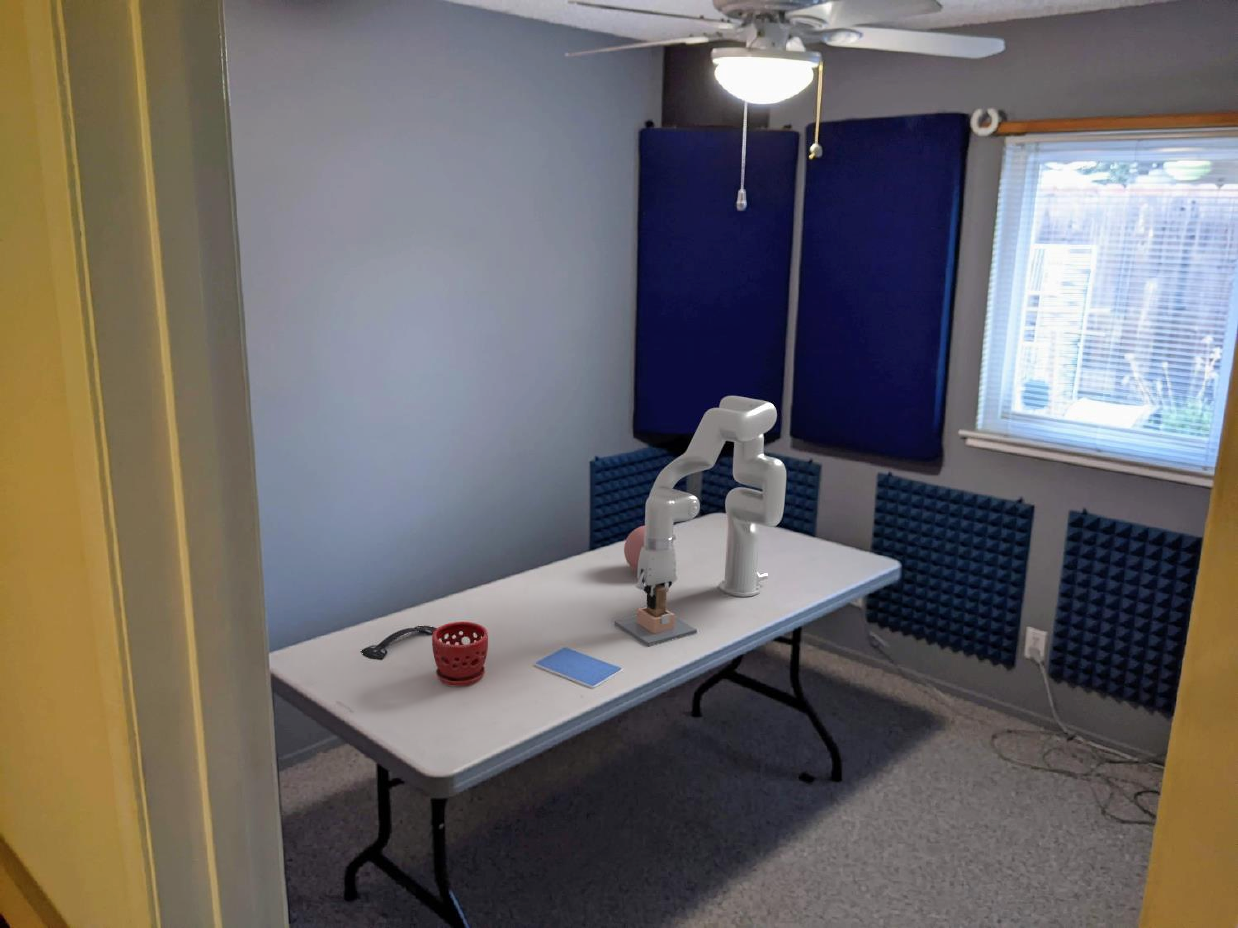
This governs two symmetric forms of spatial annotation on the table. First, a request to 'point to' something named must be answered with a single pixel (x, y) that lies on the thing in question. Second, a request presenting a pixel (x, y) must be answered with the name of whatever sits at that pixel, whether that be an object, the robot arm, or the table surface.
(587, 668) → the tablet computer
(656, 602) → the wooden rectangular block
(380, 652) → the black curved handle
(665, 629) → the square base with socket
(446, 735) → the table surface
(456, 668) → the plant pot
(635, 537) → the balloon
